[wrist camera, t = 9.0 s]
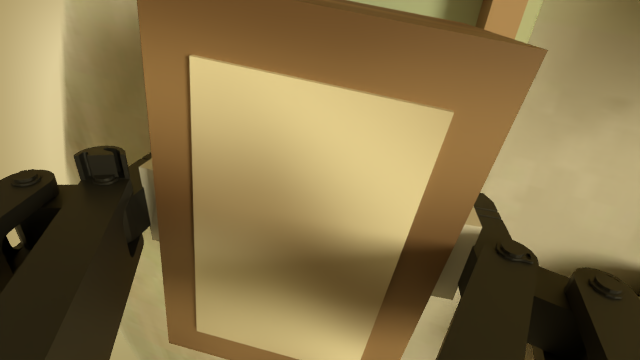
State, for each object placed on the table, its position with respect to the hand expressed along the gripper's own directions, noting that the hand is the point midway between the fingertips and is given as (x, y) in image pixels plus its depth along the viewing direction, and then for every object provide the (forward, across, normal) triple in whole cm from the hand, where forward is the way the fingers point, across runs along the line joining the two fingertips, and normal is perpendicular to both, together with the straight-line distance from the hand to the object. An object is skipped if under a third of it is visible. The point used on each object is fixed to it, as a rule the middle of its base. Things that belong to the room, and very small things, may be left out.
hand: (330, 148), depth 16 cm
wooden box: (+1, 0, 0) cm, 1 cm away
